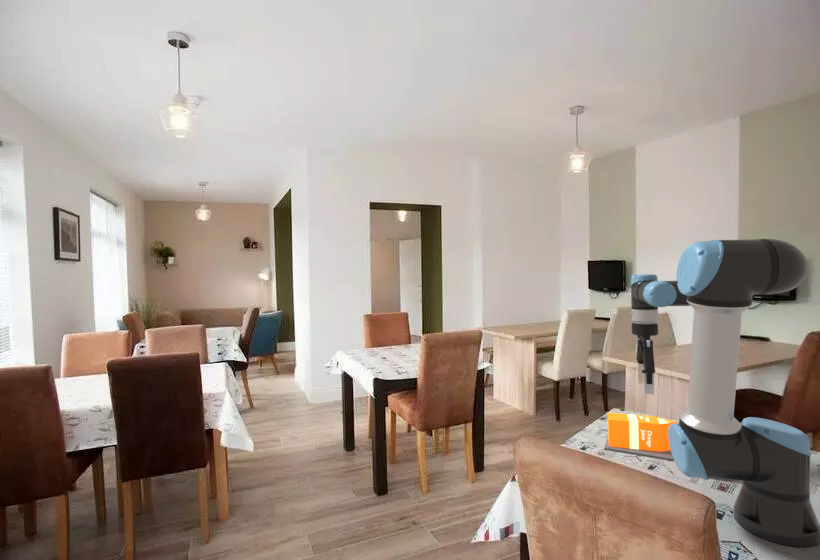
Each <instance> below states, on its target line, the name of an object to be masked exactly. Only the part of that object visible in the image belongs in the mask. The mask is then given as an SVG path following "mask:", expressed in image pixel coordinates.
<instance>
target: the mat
mask: <svg viewBox="0 0 820 560" xmlns="http://www.w3.org/2000/svg"><path fill="white" fill-rule="evenodd" d="M604 450H606V451H611V452H612V451H613V452H617V453H623V454H628V455H633V456H635V455H636V456H640V457H647V458H653V459H659V460H664V461H671V462H675V461H674V458H673V456H672V453H671V450H667V451H660V452H659V451H650V450H640V449H630V448H622V447H612V446H609V441H608V437H607V439H606V441H605V445H604Z"/></svg>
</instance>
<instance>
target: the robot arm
mask: <svg viewBox="0 0 820 560" xmlns="http://www.w3.org/2000/svg"><path fill="white" fill-rule="evenodd" d="M808 270H809V265H808V261H807V258H806V256H805V254H804V253H803V252H802V250H800V249H799V248H798V247H796V246H795V245H794V244H791V243H789V242H786V241H784V240H781V239H777V238H776V239H774V238H755V239H753V238H752V239H711V240H703V241H702V240H701V241H695V242H693V243H691V244H689V245H688V246H687V247H686V248H685V249H684V250H683V252H682V253H681V255H680V257H679V260H678V263H677V268H676V278H675V279H676V280H658V275H657V274H654V273H649V274H645V273H643V274H640V273H639V274H633V275H632V276H631V281H630V300H631V301H630V302H631V311H630V312H629V315H631V321H632V323H631V334H632V335H634V336H637V340H636V344H637V347H636V357H635V359H636V363H637V367H636V368H637V384H641V385H643V395H653V396H654V395H655V374H654V373H656V366H655V355H654V341H653V340H652V339H651V337H652V336H653V337H655V336H658V335H659V324H658V322H659V309H658V308H665V307H691V308H692V309H693V320H692V335H691V336H692V337H691V350H690V351H691V354H690V365H689V366H690V368H689V380H688V381H689V383H688V399H687V400H688V401H687V408H685V409H684V410H681V412H679V420H678V424H677V423H674V424H671V425H670V426H669V428H668V440H669V445H670V449H671V453H672V456H673V458H674V461H673V462H674V463H675V464H676V466H677V468H678V469H679V470H680V472H681V473H682V474H683V475H685V476H686V477H689V478H693V479H702V480H704V481H705V480H720V481H721V480H723V481H725V480H726V481H741V482H742V486H741V488H740V490H739V492H738V495H737V497H736V500H735V502H734V505H733V519H734V521H735V522H736V523H737V524H738V525H739V526H741V528H743V529H744V530H746V531H748V532H749V533H751V534H753V535H755V536H757V537H760V538H761V539H765V540H767V541H771V542H773V543H777V544H782V545H785V546H791V547H800V548H802V547H803V548H804V547H806V548H808V547H813V546H817V545H818V544H819V543H820V522H819V521H818V518H817V515H816V513H815V510H814V508H813V505H812V502H811V495H810V494H811V493H810V492H811V456H812V453H811V445H810V439H809V437H808V435H807V434H806V433H805V432H803V431H802V430H800V429H798V428H796V427H794V426H791V425H789V424H786V423H783V422H780V421H779V422H778V421H776V420H771V419H767V418H763V417H755V416H753V417H752V416H749V417H745V418H743V419H742V421H741V423H740V421H739V420H738V419H737V418H735V414H734V413H735V403H736V394H737V393H736V391H737V390H736V389H737V379H738V376H737V375H738V366H739V356H740V355H739V353H740V340H741V331H742V329H741V328H742V319H743V317H742V315H743V312H744V311H746V310H748V309H749V308H752V306H753V305H752V304H753V296H755V295H776V294H783V293H786V292H789V291H792V290H794V289H795V288H797V287H799V286H800V285H801V284H802V283H803V281H805V279H806V277H807V274H808Z"/></svg>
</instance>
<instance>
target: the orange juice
mask: <svg viewBox="0 0 820 560" xmlns="http://www.w3.org/2000/svg"><path fill="white" fill-rule="evenodd" d="M674 423H677V424H679V421H675V420H670V419H666V418H663V417H659V416H655V415H654V416H653V415H641V414H632V413H630V414H629V413H617V412H616V413H615V412H607V438H608V441H609V446H612V447H622V448H630V449H640V450H650V451H659V452H660V451H667V450H671V449H670V445H669V440H668V428H669V426H670V425H671V424H674Z"/></svg>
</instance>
